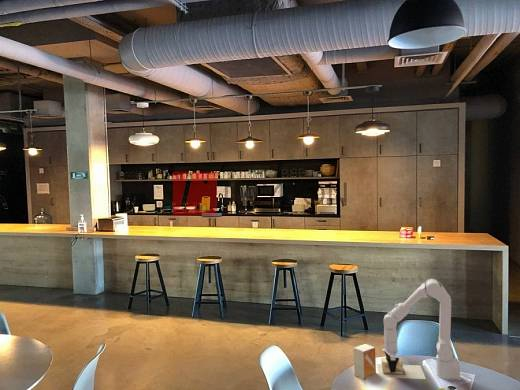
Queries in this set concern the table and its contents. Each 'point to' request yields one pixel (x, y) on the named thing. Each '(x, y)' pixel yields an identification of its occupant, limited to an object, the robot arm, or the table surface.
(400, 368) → the block
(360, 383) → the table surface
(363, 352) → the small box
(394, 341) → the robot arm
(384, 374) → the board
